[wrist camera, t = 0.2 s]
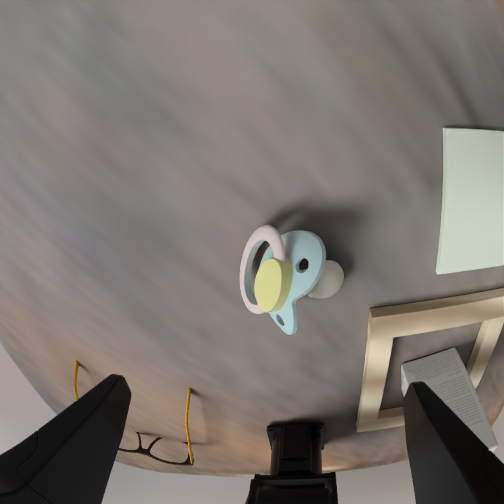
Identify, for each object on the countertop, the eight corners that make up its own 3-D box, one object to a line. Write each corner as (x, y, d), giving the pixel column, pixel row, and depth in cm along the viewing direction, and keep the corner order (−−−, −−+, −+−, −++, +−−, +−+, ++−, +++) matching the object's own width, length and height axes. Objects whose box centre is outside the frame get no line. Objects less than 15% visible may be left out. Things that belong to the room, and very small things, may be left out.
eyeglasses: (106, 422, 39) (96, 443, 35) (76, 357, 32) (61, 381, 29) (198, 445, 38) (193, 469, 35) (191, 384, 31) (183, 414, 28)
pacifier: (248, 206, 20) (311, 257, 16) (316, 205, 24) (375, 246, 20) (225, 296, 24) (271, 353, 20) (288, 283, 28) (335, 328, 24)
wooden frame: (462, 403, 30) (464, 410, 29) (356, 424, 32) (357, 432, 31) (506, 287, 22) (512, 294, 21) (369, 308, 24) (372, 317, 23)
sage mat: (531, 257, 21) (534, 259, 20) (435, 271, 22) (437, 274, 22) (546, 135, 16) (549, 137, 15) (442, 127, 17) (445, 128, 17)
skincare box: (400, 388, 29) (423, 488, 18) (400, 362, 27) (429, 471, 16) (452, 372, 27) (486, 465, 17) (456, 345, 26) (499, 444, 15)
